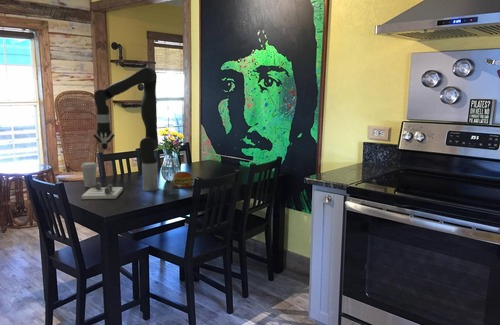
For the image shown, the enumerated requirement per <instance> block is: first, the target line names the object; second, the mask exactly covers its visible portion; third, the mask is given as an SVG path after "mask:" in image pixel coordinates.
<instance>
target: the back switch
mask: <svg viewBox="0 0 500 325" xmlns="http://www.w3.org/2000/svg"><path fill="white" fill-rule="evenodd" d="M95 188H96V189H101V188H102V183H101V182H100V181H98V182H96V186H95Z"/></svg>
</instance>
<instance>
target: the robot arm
mask: <svg viewBox="0 0 500 325" xmlns="http://www.w3.org/2000/svg"><path fill="white" fill-rule="evenodd" d="M157 77H158V76H157V71H156V70H155V69H153V68H151V67H146V66H145V67H142V68H141V69H139V70H137V71H136V72H135V73H133V74H130V76H127V77H126V78H123V79H121V80H118V81H116V82H114V83H112V84H110V85H108V87H106V88H103V89H100V88H99V89H97V90H95V92H94V95H93V96H94V97H93V98H94V102H95V106H96V114H97V116H96V124H97V125H96V126H97V132H96V133H95V134H94V135H93V138H95V139H96V140H97V142H98V143H100V144H101V146H102V149H103V150H107V149H108V143H111V142H112V140H113V138H114V137H115V135H116V134H115V133H112V131H111V119H110V118H111V116H110V108H109V105H108V104H107V101H108V100H110V99H112V98H114V97H116V96H118V95H120V94H122V93H125V92H126V91H128V90H130V89H132V88H134V87H135V86H137V85H141V84H143V95H142V99H141V103H140V114H141V116H140V117H141V119H142V123H143V125H144V130H145V137H143V138H142V139H141V140H140V142H139V156H140V159H141V169H142V170H141V172H142V174H141V176H142V190H143V191H146V192H154V191H158V190H159V173H158V158H157V157H156V156H155V151H156V150H157V149H158V147H159V137H158V128H157V117H158V116H157V111H158V110H157V90H156V88H157V80H158V79H157Z"/></svg>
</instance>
